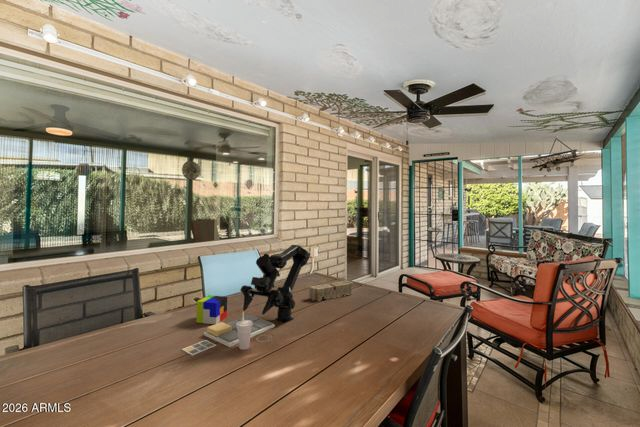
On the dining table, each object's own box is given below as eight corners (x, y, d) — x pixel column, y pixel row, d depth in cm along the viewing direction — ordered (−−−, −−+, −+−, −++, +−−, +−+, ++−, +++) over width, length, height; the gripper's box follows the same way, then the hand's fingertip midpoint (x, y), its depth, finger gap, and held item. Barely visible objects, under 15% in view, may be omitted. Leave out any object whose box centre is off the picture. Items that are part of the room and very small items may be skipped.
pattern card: (205, 340, 120) (205, 339, 120) (216, 345, 116) (216, 344, 116) (182, 349, 112) (182, 348, 112) (192, 355, 108) (192, 354, 108)
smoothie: (237, 343, 118) (238, 309, 118) (253, 343, 119) (254, 309, 119) (234, 351, 112) (234, 314, 112) (251, 351, 113) (251, 314, 112)
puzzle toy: (215, 324, 137) (216, 303, 136) (196, 322, 139) (196, 301, 138) (226, 316, 146) (227, 296, 146) (208, 314, 148) (209, 295, 148)
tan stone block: (316, 303, 173) (353, 294, 189) (316, 289, 172) (353, 281, 189) (308, 300, 179) (346, 291, 196) (308, 286, 179) (346, 279, 195)
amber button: (221, 326, 131) (221, 322, 131) (231, 331, 127) (232, 326, 127) (207, 332, 125) (207, 327, 125) (217, 336, 121) (217, 331, 121)
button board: (249, 318, 146) (249, 313, 145) (274, 326, 136) (274, 322, 136) (203, 335, 125) (204, 330, 125) (229, 347, 115) (229, 342, 115)
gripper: (243, 266, 129) (225, 298, 119) (280, 271, 121) (265, 306, 111) (253, 280, 136) (237, 312, 126) (289, 286, 129) (275, 319, 119)
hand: (253, 312), depth 120 cm, fingers open, 9 cm apart
